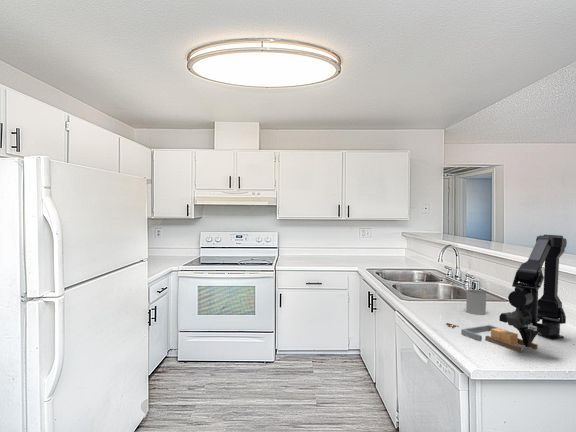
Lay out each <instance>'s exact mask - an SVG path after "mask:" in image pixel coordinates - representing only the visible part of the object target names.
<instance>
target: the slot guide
mask: <svg viewBox="0 0 576 432" xmlns="http://www.w3.org/2000/svg"><path fill="white" fill-rule="evenodd" d="M484 340H485V341H487V342H490V343H492V344H494V345H498V346H501V347H504V348H506V349H509V350H511V351H515V352H517V353H522V352H523V347H522V346H524V347H525V345H524V343H523V340H522V338H519V337H518V343H517V345H513V344H510V343H507V342H504V341H501V340H499V339H496V338H493V337H491V335H490V336H489V335H485V339H484ZM518 344H519V345H522V346H518ZM528 348H531V349H533V350H537V349H538V344H536V343H533V342H532V343H531V345H530V346H529V347H528Z"/></svg>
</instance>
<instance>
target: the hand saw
mask: <svg viewBox="0 0 576 432" xmlns="http://www.w3.org/2000/svg"><path fill="white" fill-rule="evenodd" d="M445 325H446V326H447V328H451V327H452V328H451V329H455V328H456V327H458V328H459V327H460V326H459V325H455V324H452V323H451V322H450V323H448V322H446V323H445ZM452 325H453V326H452Z"/></svg>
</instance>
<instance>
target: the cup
mask: <svg viewBox="0 0 576 432" xmlns="http://www.w3.org/2000/svg"><path fill="white" fill-rule="evenodd" d="M486 308H487V292H486V291H484V290H482V289H481V290H479V289H467V290H466V307H465V311H466V313H468V314H470V315H475V316H476V315H478V316H481V315H482V316H483V315H486V313H487V311H486V310H487V309H486Z"/></svg>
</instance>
